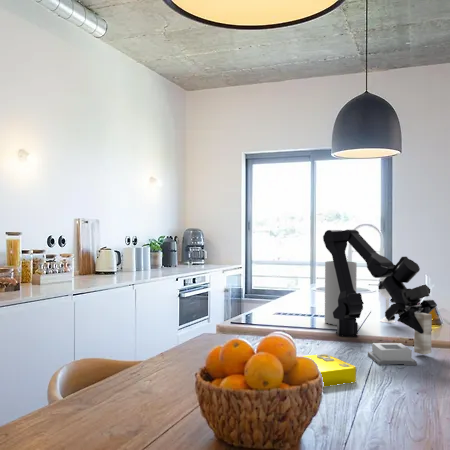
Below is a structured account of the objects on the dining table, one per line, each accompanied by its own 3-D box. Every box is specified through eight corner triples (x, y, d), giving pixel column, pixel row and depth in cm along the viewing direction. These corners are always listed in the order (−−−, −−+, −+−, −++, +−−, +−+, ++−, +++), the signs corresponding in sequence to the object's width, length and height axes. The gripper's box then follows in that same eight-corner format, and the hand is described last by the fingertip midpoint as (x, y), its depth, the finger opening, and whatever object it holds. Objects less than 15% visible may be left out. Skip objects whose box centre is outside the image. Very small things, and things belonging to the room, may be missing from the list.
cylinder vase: (353, 320, 213) (354, 261, 213) (358, 326, 201) (358, 263, 201) (323, 320, 215) (323, 260, 214) (326, 325, 202) (326, 263, 202)
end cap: (378, 364, 147) (378, 351, 147) (367, 355, 158) (367, 342, 158) (416, 365, 147) (416, 351, 147) (402, 355, 158) (402, 342, 158)
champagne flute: (399, 322, 211) (399, 264, 211) (386, 323, 209) (386, 264, 208) (388, 319, 217) (388, 263, 217) (375, 320, 215) (376, 263, 215)
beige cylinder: (414, 352, 158) (414, 313, 158) (421, 350, 160) (422, 312, 160) (423, 354, 155) (424, 315, 155) (431, 353, 157) (431, 314, 157)
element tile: (279, 373, 139) (279, 356, 139) (326, 368, 144) (326, 351, 144) (309, 391, 125) (309, 371, 125) (359, 384, 131) (359, 365, 131)
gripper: (392, 277, 156) (422, 319, 146) (432, 274, 165) (462, 314, 156) (372, 299, 163) (400, 341, 153) (411, 295, 172) (439, 334, 163)
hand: (426, 332), depth 156 cm, fingers closed on beige cylinder, 3 cm apart
